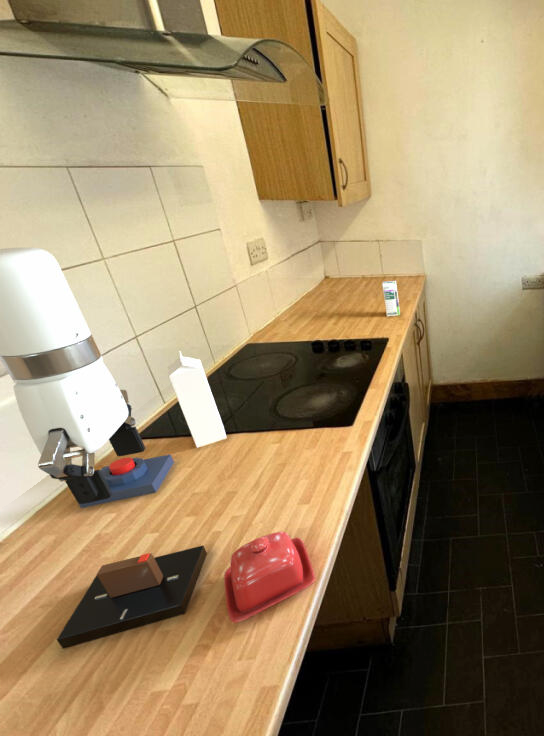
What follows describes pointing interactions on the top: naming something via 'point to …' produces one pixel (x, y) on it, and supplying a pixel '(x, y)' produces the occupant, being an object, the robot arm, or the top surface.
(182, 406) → the milk
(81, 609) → the panel
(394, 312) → the syrup box
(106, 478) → the button box
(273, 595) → the butter dish
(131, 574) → the dial knob
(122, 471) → the button
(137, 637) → the top surface
